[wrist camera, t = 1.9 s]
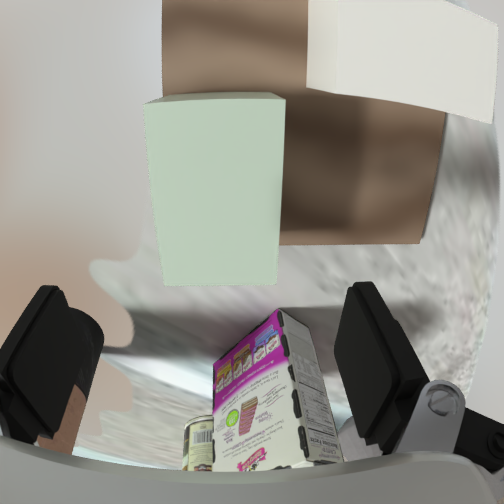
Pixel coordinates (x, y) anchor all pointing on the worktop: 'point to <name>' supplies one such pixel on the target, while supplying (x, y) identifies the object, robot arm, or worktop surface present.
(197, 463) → the coffee can
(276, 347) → the candy bar box
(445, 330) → the worktop surface
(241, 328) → the worktop surface
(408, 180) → the walnut board
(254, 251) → the pale green block
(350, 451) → the coffee pot
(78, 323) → the travel mug
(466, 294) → the worktop surface
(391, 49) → the white block
